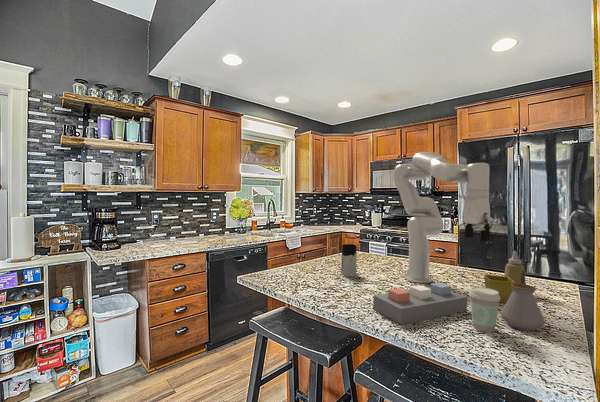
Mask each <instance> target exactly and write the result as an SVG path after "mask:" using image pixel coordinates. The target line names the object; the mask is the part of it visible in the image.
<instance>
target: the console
mask: <svg viewBox="0 0 600 402" xmlns="http://www.w3.org/2000/svg"><path fill="white" fill-rule="evenodd" d="M426 287H427V286H426ZM427 288H429V289H430V286H428V287H427ZM405 291H408V292H410V289H406V290H405ZM372 297H373V298H372V309H373V310H374V311H376V312H378V313H380V314H381V315H383V316H385V317H387V318H389V319H390V320H392V321H394V322H395V323H397V324H400V325H404V324H409V323H415V322H419V321H424V320H428V319H434V318H438V317H443V316H448V315H452V314H457V313H458V314H459V313H462V312H466V311H468V296H466V295H463V294H460V293H457V292H454V291H451V295H446V296H439V295H436V294H434V293H431V298H428V299H422V300H420V299H418V298H415V297H413V296H410V302H404V303H396V302H394V301H392V300H390V299H388V293H387V292H386V293H380V294H374V295H373V296H372Z"/></svg>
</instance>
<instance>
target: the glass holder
mask: <svg viewBox="0 0 600 402" xmlns="http://www.w3.org/2000/svg"><path fill="white" fill-rule="evenodd" d="M333 249H336V250H337V254H338V256H339V257H341V264H340V265H339V264H338V263H336V262H335V260H334V259H333V256H332V250H333ZM329 251H330V258H331V260H332V262H333V263H334V264H335V265H336V266H337V267H339V269H340V272H339V273H340V274H339V275H342V276H346V277H355V276H357V275H358V273H357V264H358V263H357V258H358V257H357V256H358V253H357V251H358V249H357V245H356V244H351V243H349V244H347V243H346V244H342V245H341V254H340V251H339V248H337V247H335V246H334V247H331V249H330V250H329Z"/></svg>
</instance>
